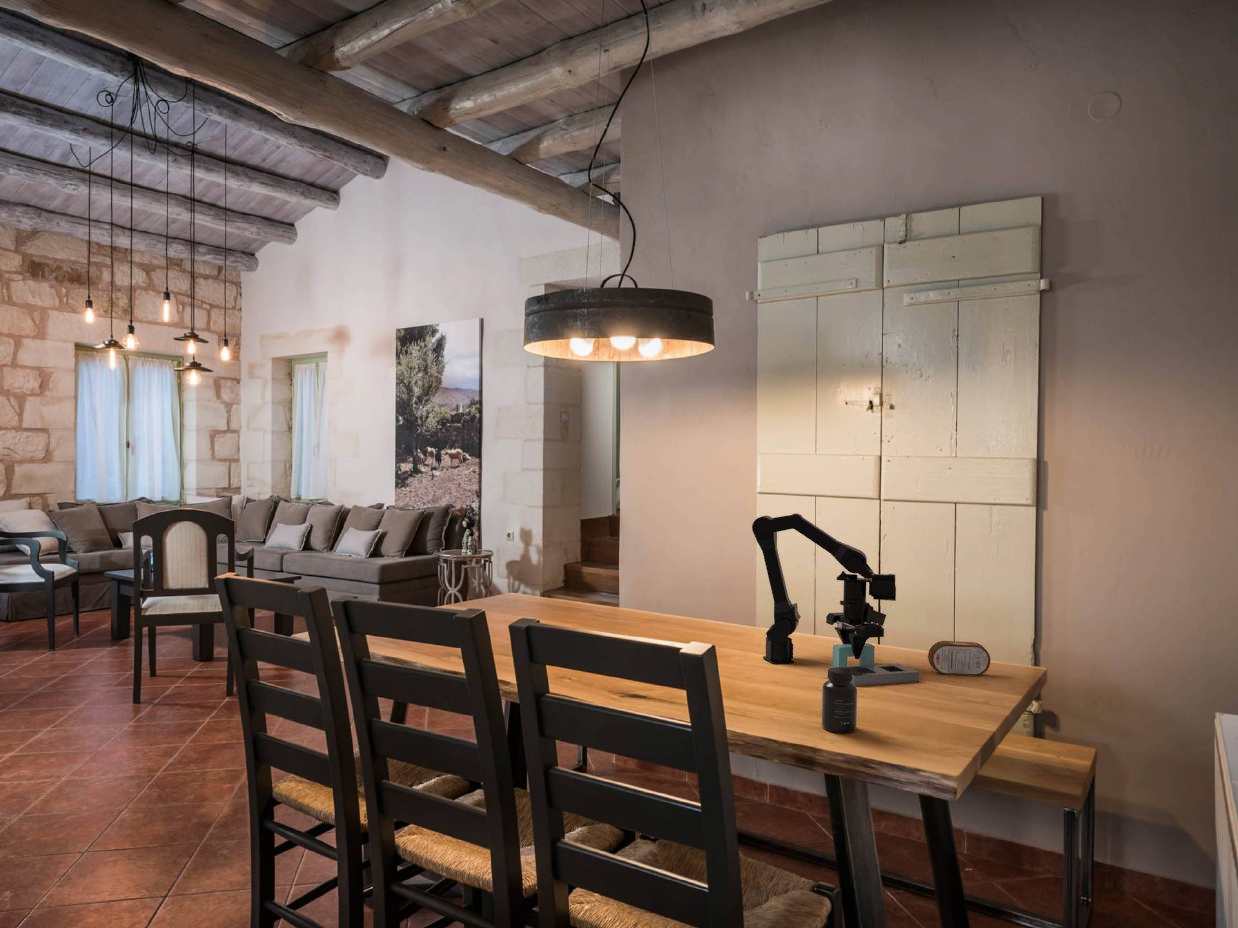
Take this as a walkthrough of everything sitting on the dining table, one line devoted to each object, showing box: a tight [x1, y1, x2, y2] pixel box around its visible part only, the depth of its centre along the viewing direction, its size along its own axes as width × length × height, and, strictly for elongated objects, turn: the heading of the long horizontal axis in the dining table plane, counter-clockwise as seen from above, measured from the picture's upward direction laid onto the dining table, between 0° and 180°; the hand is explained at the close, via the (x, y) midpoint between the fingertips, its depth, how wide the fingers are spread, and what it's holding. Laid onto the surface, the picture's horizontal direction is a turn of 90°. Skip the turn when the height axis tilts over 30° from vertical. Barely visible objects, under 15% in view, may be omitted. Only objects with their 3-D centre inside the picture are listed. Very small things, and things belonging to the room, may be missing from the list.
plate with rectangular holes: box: [842, 663, 920, 687], centre depth 199 cm, size 18×8×2 cm, turn 106°
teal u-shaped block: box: [832, 642, 876, 667], centre depth 209 cm, size 10×3×6 cm, turn 106°
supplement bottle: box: [821, 666, 858, 735], centre depth 162 cm, size 7×7×12 cm
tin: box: [927, 640, 991, 677], centre depth 205 cm, size 15×3×8 cm, turn 84°
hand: (853, 657), depth 209 cm, fingers closed on teal u-shaped block, 3 cm apart
